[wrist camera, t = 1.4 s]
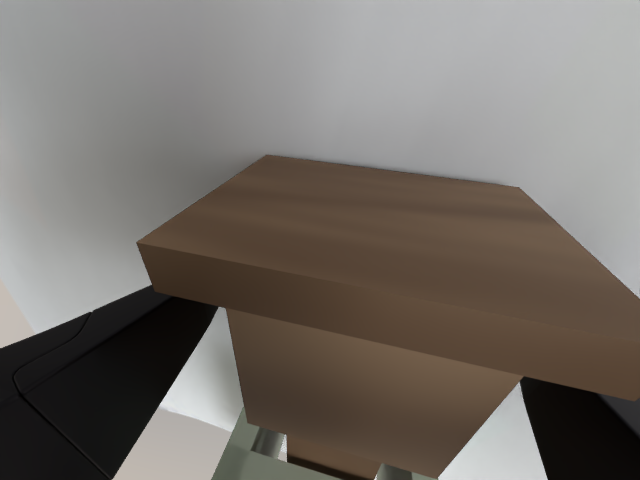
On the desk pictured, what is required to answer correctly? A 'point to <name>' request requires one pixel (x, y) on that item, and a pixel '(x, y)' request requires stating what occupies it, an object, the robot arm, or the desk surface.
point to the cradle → (276, 459)
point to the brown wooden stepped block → (392, 307)
